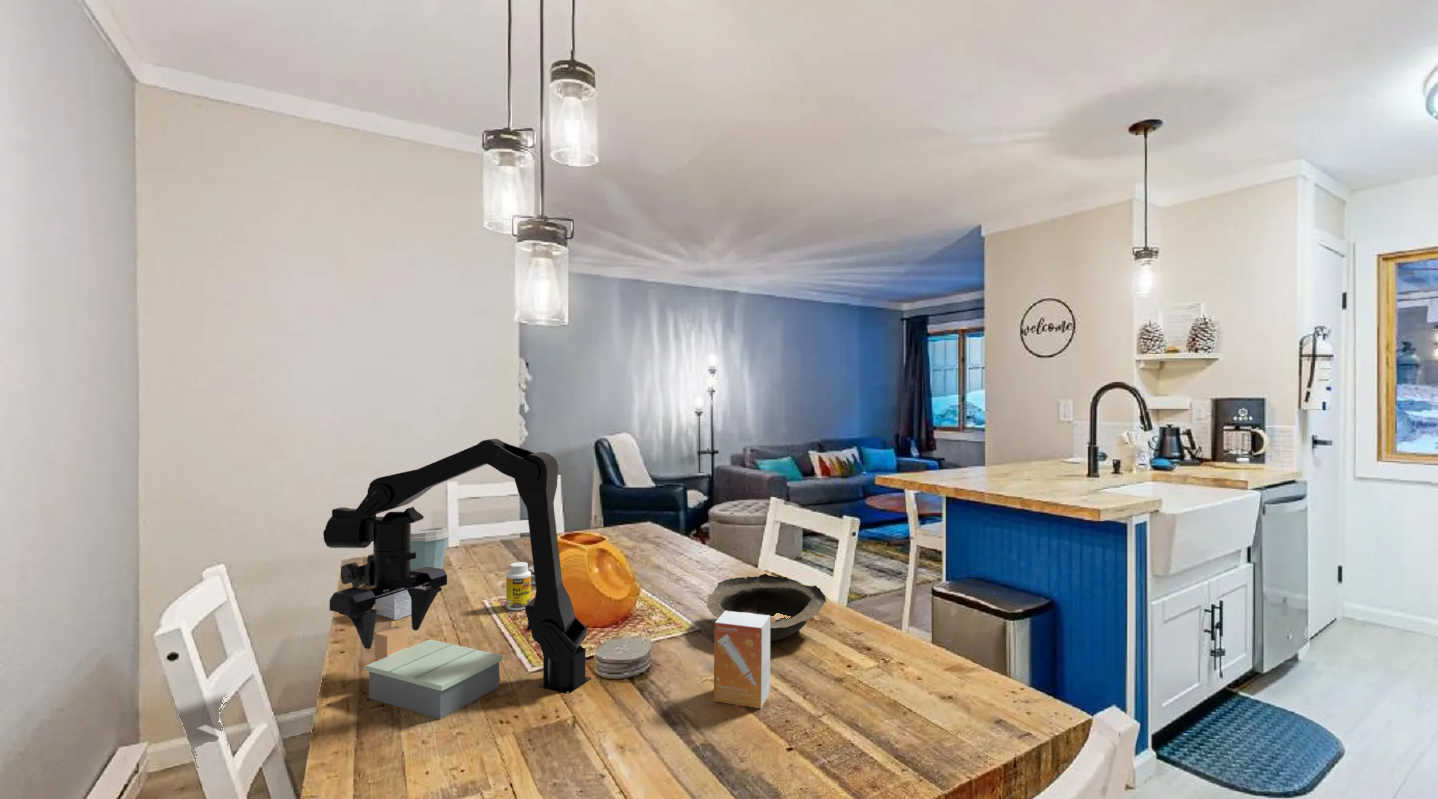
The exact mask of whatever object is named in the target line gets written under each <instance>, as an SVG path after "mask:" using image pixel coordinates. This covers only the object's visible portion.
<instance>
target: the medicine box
mask: <svg viewBox="0 0 1438 799" xmlns="http://www.w3.org/2000/svg"><path fill="white" fill-rule="evenodd" d="M383 591H387V590H383ZM374 609H375V610H377V612H376V616H377V615H378V616H380V617H384V618H388V619H390V620H393V621H396V620H400V619H404V618H406V617H410V616H411V597H410V595H409V593H408V591H407V590H405V591H401V592H398V593H395V594H392V595H389V596H385V597H382V598H379V599H376V600H375V605H374Z"/></svg>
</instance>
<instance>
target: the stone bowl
mask: <svg viewBox="0 0 1438 799" xmlns="http://www.w3.org/2000/svg"><path fill="white" fill-rule="evenodd" d="M826 600H827V599H826V595H825V594H824V592H822V589H821V588H820V587H818V586H817V585H802V583H801V582H800V581H798V580H796V579H795V580H794V579H790V578H788V577H787V576H783V577H782V576H781V575H778V576H777V575H776V576H775V575H769V574H767V573H764V574H763V573H762V574H760V575H758V576H756V575H755V576H746V577H743V576H742V577H735V578H729V579H724V580H722V581H719V582H717V587H715V588H714V592H713V593H709V594H708V598H707V603H706V608H707V610H709V612H710V613H711V615H713V617H716V618H719V617H720V616H721V615H722V614H723V613H724V612H725V611H732V612H745V613H753V614H760V615H770V616H774V615H775V614H776V613H780V614H783V615H787V616H791V617H790V618H789V619H788V618H787V619H786V618H785V617H784V618H780V619H778V620H776V621H775V622H770V642H774V641H779V640H782V639H783V640H784V639H786V638H788V637H789V636H792V635H793V634H795V633H796V632H798V631H800V630H801V629H802V628H804V627H805V625H806V624H807V622H808V621H809V620H811V619H812V618H814V617H815V616H816V615H817V614H818V613H820V611H821V609H822V608H823V607H824V605H825V603H826V602H827V601H826Z"/></svg>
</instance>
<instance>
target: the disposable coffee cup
mask: <svg viewBox="0 0 1438 799" xmlns="http://www.w3.org/2000/svg"><path fill="white" fill-rule="evenodd" d="M449 537H450V533H449V531H448V527H443V526H442V527H428V528H420V529H414V530H411V552H416V558H415V559H411V571H412V570H416V569H419V568H423V567H433V568H439V569H444V562H445V557H446V556H445V555H446V551H447V544H448V538H449Z"/></svg>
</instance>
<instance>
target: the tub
mask: <svg viewBox="0 0 1438 799" xmlns="http://www.w3.org/2000/svg"><path fill="white" fill-rule="evenodd" d="M499 687H500V662H498V663H496V664H494V665H492V666H490V667H488V668H486V669H484V670H482V671H480V672H478V673H476V674H474V675H472V676H470V677H469V678H467V679H465V680H463V681H461V682H459V683H457V684H455V685H453V686H451V687H449V688H447V689H445V690H443V691H439V690H436V689H432V688H428V687H425V686H421V685H417V684H414V683H410V682H406V681H403V680H399V679H395V678H392V677H388V676H384V675H381V674H377V673H373V672H370V671H368V699H370V700H374V701H376V702H381V703H383V704H384V703H385V704H387V705H390V706H394V707H397V708H401V709H404V710H408V711H411V712H414V713H418V714H421V715H424V716H428V717H431V718H435V719H438V720H442V719H444V718H446V717H447V716H449V715H451V714H452V713H455V712H456V711H459V710H460V709H461V708H462V709H463V707H465V706H467V705H469V704H472V703H473V702H474V701H477V700H478V699H480V698H481V697H483V696H486V695H487V694H489V693H491V692H492V691H494V690H496V689H498V688H499Z"/></svg>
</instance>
